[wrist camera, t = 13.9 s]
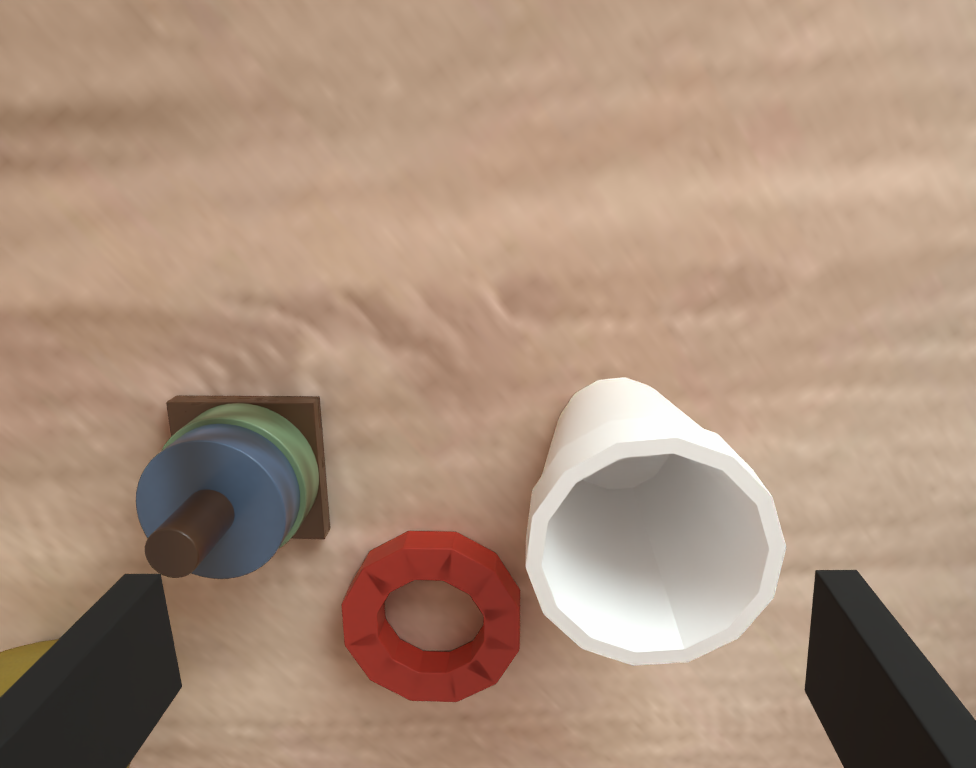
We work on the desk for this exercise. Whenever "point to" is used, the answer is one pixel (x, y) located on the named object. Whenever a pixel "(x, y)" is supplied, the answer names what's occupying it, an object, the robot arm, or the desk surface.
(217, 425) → the stacking post
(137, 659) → the robot arm
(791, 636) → the desk surface
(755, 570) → the foam cup
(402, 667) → the ring
